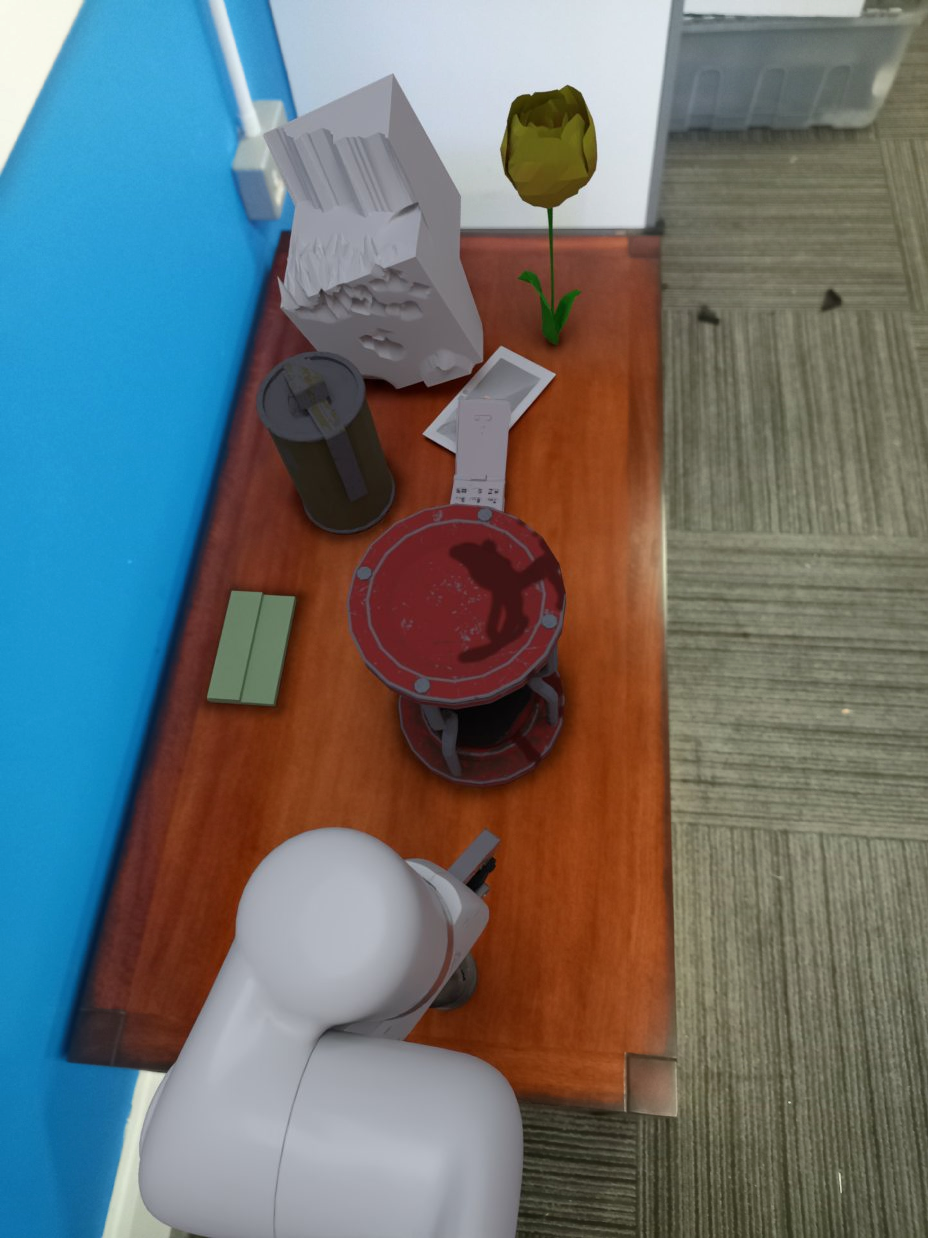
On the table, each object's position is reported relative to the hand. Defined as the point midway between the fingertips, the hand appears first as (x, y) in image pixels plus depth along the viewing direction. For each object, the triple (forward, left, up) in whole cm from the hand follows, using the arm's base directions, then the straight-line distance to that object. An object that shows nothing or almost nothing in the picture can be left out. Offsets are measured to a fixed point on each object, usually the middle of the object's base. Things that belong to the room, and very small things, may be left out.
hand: (425, 957), depth 61 cm
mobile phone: (+37, +26, -19) cm, 49 cm away
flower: (+62, +34, -19) cm, 73 cm away
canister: (+32, +40, -19) cm, 54 cm away
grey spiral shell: (0, 0, -19) cm, 19 cm away
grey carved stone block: (+52, +50, -19) cm, 74 cm away
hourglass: (+21, +13, -19) cm, 31 cm away
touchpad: (+50, +34, -19) cm, 63 cm away
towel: (+12, +36, -19) cm, 42 cm away
